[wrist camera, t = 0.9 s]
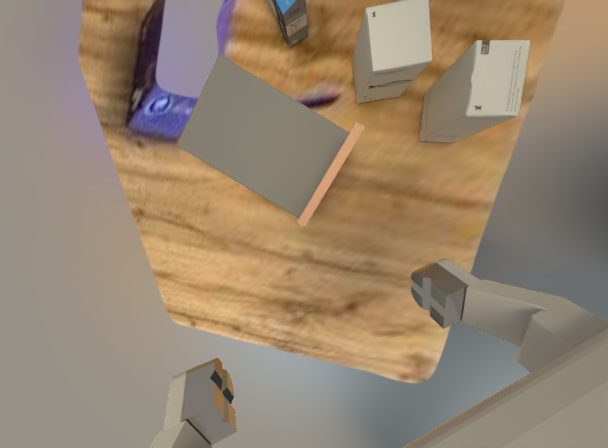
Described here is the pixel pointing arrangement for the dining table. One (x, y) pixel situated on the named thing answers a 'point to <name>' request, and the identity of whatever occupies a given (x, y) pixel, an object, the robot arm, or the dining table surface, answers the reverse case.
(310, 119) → the lid
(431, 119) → the skincare box
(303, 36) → the label tape cartridge
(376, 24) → the supplement box
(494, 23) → the dining table surface
